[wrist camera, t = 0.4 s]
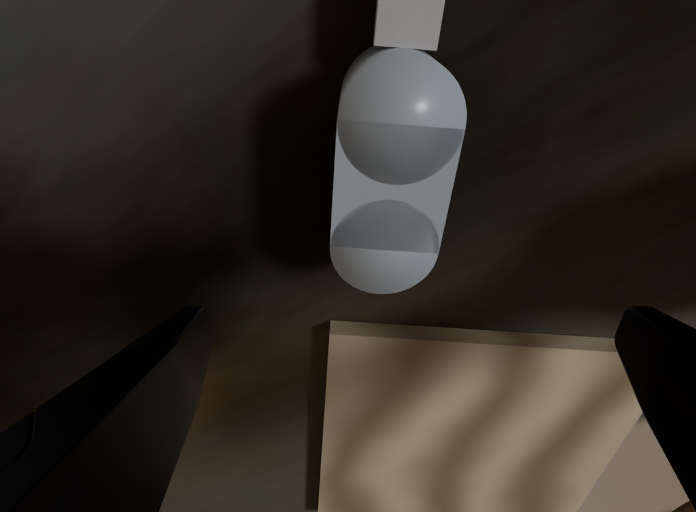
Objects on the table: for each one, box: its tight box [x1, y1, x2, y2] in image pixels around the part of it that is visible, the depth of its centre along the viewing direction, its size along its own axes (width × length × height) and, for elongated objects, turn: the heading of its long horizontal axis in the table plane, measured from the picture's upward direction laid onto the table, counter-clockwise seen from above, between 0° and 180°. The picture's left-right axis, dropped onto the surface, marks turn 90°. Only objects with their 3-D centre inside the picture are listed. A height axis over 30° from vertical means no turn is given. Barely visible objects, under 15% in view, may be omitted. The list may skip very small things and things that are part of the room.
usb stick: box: [330, 0, 467, 294], centre depth 17 cm, size 12×4×4 cm, turn 176°
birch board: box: [318, 320, 643, 512], centre depth 30 cm, size 20×20×1 cm
